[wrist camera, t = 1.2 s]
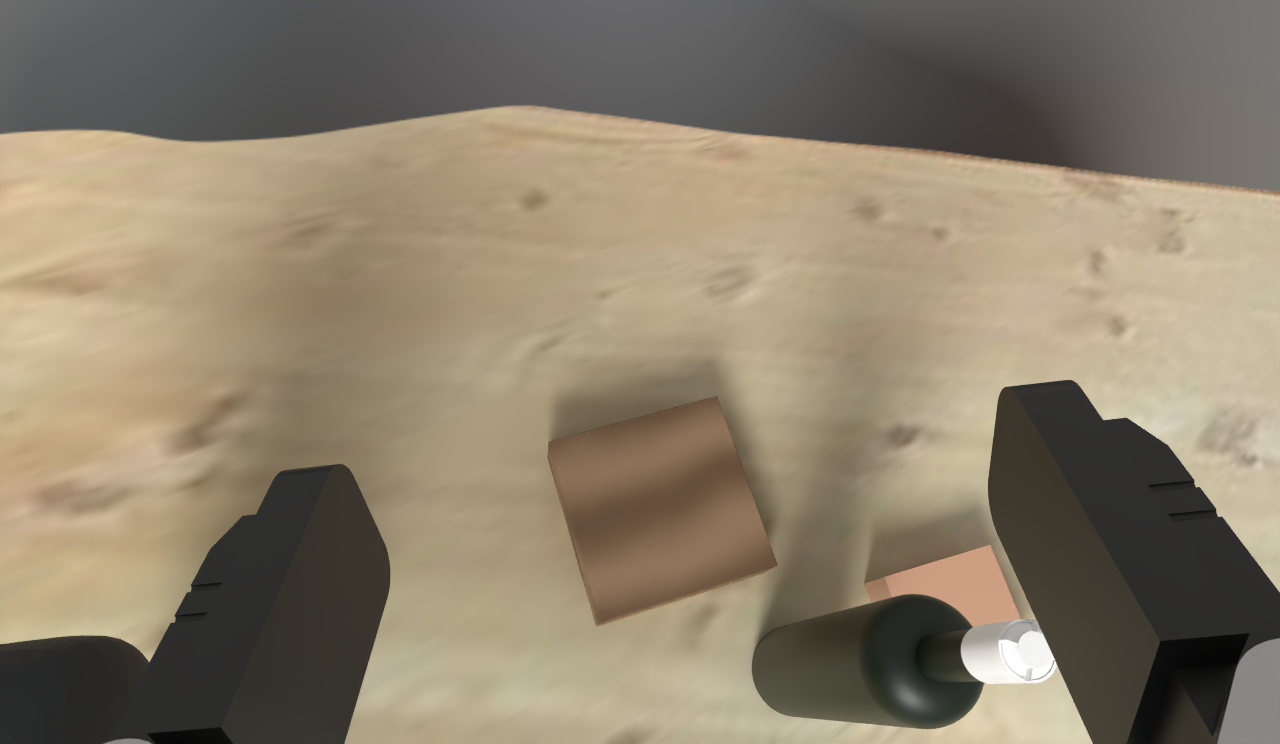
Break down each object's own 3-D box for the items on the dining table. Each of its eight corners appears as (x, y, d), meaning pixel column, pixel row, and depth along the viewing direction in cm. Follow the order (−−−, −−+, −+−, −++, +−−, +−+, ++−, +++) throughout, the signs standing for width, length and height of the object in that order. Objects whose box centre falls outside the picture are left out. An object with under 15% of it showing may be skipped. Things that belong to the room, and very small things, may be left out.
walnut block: (762, 573, 60) (777, 565, 56) (596, 626, 57) (600, 622, 54) (706, 413, 63) (716, 396, 60) (547, 457, 61) (548, 442, 57)
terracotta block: (1008, 666, 60) (1039, 664, 56) (905, 700, 58) (930, 701, 55) (963, 553, 62) (990, 544, 59) (862, 583, 61) (884, 576, 57)
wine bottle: (844, 641, 59) (1122, 596, 31) (824, 728, 57) (1105, 764, 29) (764, 614, 59) (970, 543, 31) (741, 700, 57) (941, 707, 29)
